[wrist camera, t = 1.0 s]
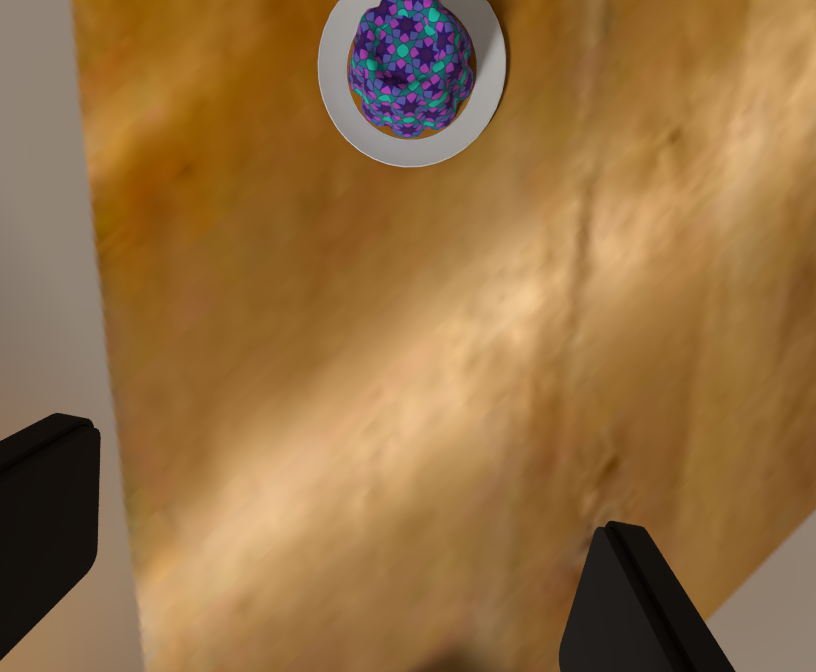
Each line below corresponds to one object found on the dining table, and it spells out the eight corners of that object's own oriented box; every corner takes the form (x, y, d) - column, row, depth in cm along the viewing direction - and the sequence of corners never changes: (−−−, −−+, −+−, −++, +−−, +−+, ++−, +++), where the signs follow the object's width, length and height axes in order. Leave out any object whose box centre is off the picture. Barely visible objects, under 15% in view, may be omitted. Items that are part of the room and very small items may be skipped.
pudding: (392, 204, 35) (383, 202, 30) (283, 51, 34) (255, 22, 28) (540, 92, 33) (559, 69, 28) (433, -79, 31) (432, -136, 26)
